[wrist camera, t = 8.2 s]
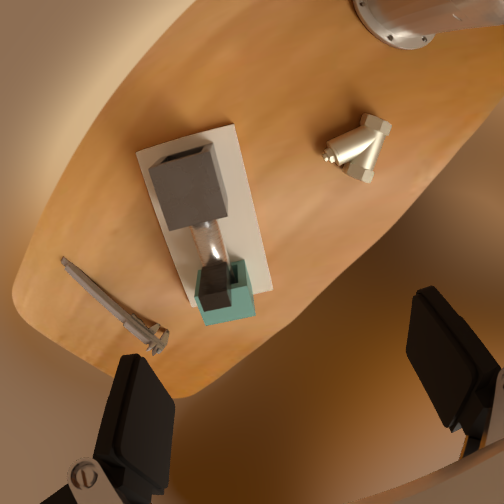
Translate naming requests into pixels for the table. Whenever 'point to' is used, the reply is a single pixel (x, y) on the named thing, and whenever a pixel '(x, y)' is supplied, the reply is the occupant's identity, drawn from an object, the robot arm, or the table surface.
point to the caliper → (119, 311)
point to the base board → (232, 227)
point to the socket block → (240, 298)
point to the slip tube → (213, 266)
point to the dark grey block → (190, 187)
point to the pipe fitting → (359, 147)
